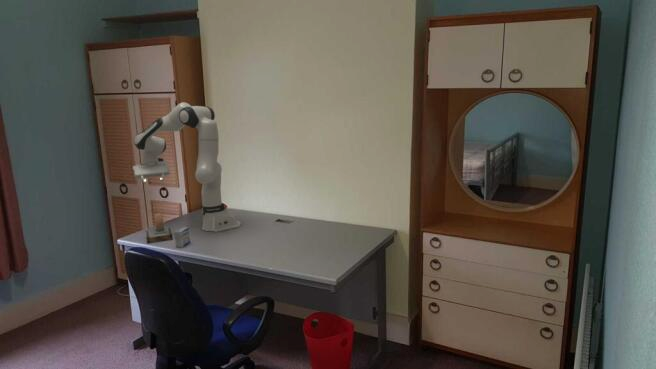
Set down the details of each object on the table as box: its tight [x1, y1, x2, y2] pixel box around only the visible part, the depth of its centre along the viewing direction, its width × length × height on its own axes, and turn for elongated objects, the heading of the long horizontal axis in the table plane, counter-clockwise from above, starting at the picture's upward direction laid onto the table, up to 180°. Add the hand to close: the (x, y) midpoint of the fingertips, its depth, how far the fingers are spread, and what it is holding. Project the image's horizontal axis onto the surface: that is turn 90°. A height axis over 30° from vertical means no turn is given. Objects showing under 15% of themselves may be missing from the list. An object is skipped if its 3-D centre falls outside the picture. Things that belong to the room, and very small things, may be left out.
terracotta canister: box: [153, 212, 165, 232], centre depth 271 cm, size 4×4×10 cm
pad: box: [153, 226, 168, 236], centre depth 272 cm, size 7×10×1 cm
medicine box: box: [173, 226, 191, 248], centre depth 247 cm, size 8×4×9 cm, turn 168°
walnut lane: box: [145, 227, 173, 244], centre depth 260 cm, size 13×14×3 cm
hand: (153, 181), depth 278 cm, fingers open, 8 cm apart
